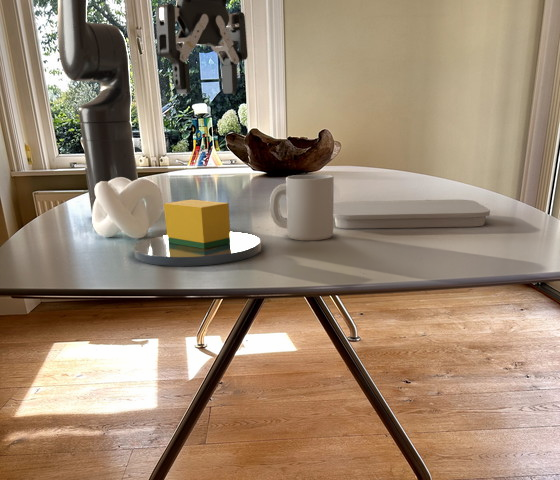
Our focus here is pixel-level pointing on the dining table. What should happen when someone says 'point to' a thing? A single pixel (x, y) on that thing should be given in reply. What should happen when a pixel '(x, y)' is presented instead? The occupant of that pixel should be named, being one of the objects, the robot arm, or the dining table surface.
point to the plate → (196, 251)
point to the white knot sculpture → (126, 207)
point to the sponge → (197, 223)
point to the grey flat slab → (409, 214)
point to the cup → (305, 206)
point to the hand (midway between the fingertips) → (207, 93)
